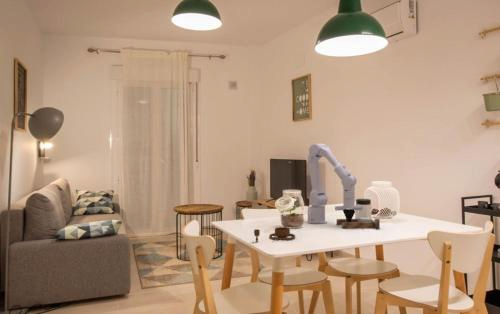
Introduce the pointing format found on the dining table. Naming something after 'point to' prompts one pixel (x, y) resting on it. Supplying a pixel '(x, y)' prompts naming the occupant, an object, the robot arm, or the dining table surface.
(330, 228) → the dining table surface
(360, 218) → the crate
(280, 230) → the place setting
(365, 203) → the jar
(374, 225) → the wooden tray
